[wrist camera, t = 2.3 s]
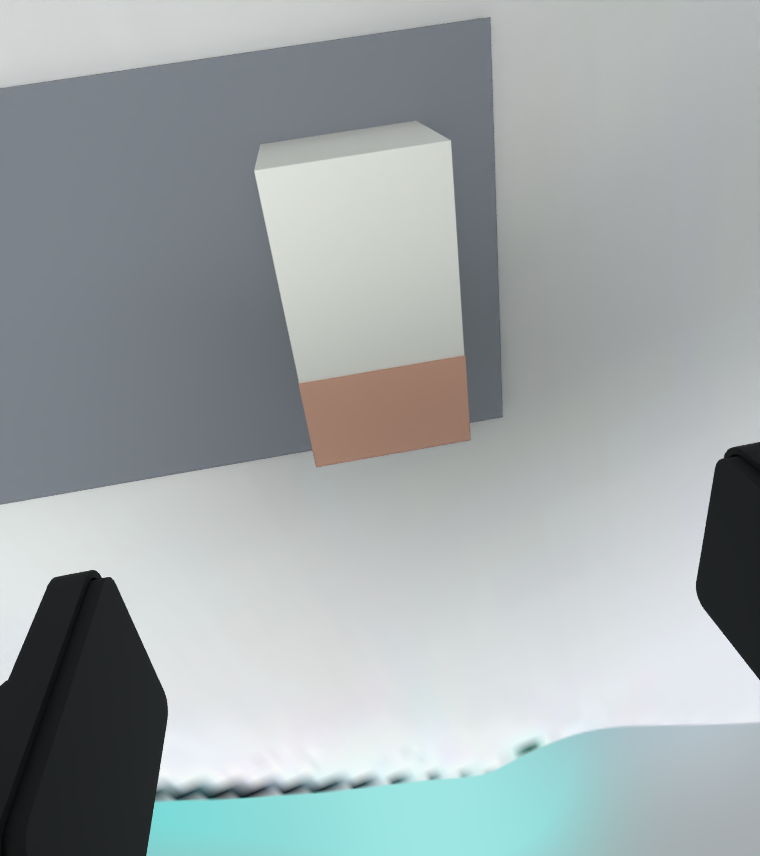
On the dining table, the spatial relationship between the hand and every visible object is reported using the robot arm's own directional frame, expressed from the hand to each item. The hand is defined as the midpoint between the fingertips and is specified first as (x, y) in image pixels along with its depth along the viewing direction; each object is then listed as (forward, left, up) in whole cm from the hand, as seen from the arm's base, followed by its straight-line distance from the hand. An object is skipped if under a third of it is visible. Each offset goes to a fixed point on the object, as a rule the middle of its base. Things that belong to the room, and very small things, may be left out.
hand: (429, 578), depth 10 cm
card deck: (0, 0, -15) cm, 15 cm away
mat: (+7, 0, -16) cm, 17 cm away
